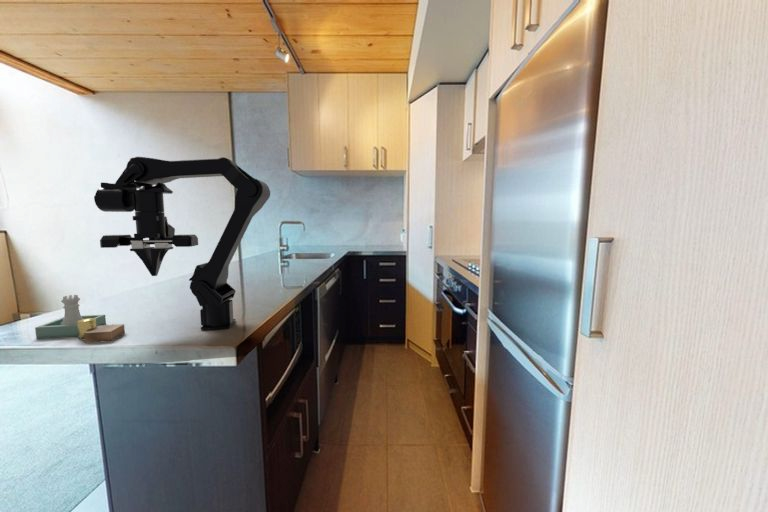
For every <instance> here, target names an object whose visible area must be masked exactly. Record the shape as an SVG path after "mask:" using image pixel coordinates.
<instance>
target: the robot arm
mask: <svg viewBox="0 0 768 512" xmlns="http://www.w3.org/2000/svg"><path fill="white" fill-rule="evenodd" d="M208 177H209V178H210V177H212V178H213V177H214V178H216V177H224V178H225V180H227V181H228V183H230V185H232V187H234V188H235V189H236V193H235V196H234V209H233V211H232V213H231V216H230V218H229V220H228V221H227V223H226V226H225V228H224V230H223V232H222V234H221V236H220V239H219V240H218V243H217V244H216V247H215V249H214V251H213V252H212V255H211V257H210V259H209V260H208V262H205V263H200V264H198V265H196V266H195V269H194V271H193V274H192V276H191V277H190V278H189V279H188V281H189V282H190V283H189V284H190V285H189V289H190V291H191V293H192V295H193V296H194V297H195V298H196V300H197V302H198V305H199V306H200V307H202V308H201V309H200V310H199V311H200V312H199V314H200V316H199V317H200V325H201V327H200V330H201V331H203V330H204V331H206V330H207V331H208V330H220V329H222V330H223V329H230V328H231V326H232V325H233V324H235V322H236V318H234V307H233V306H234V305H233V304H234V303H233V299H234V297H235V295H236V289H235V288H233V287H232V286H231V285H230V284H229V283H228V282H227V280H228V278H229V267H230V264H231V262H232V259H233V258H234V256H235V254H236V252H237V250H238V247H239V246H240V244H241V242H242V239H243V238H244V235H245V234H246V232H247V230H248V227H249V225H250V223H251V221H252V219H253V217H254V216H255V215H256V214H258V212H259V211H261V210H262V208H263V207H264V206H265V204H266V203H267V202H268V200H269V198H270V197H271V190H270V188H269V186H268V184H267V183H265V182H264V181H262V180H259V179H257V178H254V177H253V176H251V175H250V174H249V173H248V172H247V171H246V170H244V169H243V168H242V167H240V166H238V165H237V163H236V162H235V161H234V160H231V159H230V158H227V157H222V156H221V157H219V158H205V159H204V158H203V159H183V160H167V159H166V160H165V159H164V160H163V159H159V158H153V157H146V156H145V157H144V156H132V157H131V158H130V159H129V161H128V162H127V163H126V167H125V168H124V170H123V171H122V173H121V174H120V176H119V177H118V179H117V180H116V181H115V183H113V182H112V183H111V182H100V188H98V189H97V190H96V192H95V194H94V197H93V199H94V200H93V201H94V204H95V206H96V208H98V209H99V210H100V211H102V212H105V213H107V212H108V213H109V212H110V213H111V212H114V213H115V212H116V213H118V212H119V213H120V212H121V213H123V212H124V213H131V212H133V211H134V215H132V221H135V229H136V230H135V231H136V233H134V234H133V237H132V235H131V234H105V235H102V236H101V238H100V240H99V244H100V248H101V249H102V248H107V249H109V248H110V249H111V248H112V249H114V248H118V247H126V246H127V247H129V246H131V248H130V249H129V251H130V252H134V253H135V254H136V255H137V257H138V258H139V259H140V260H141V261H142V263H143V264H144V266H145V268H146V269H147V270H148V272H149V274H150V275H151V277H157V276H158V274H159V272H160V268H161V265H162V262H163V260H164V258H165V256H166V254H167V253H168V251H169V250H173V249H174V246H175V247H176V248H177V247H178V248H181V247H182V248H183V247H186V248H189V247H190V248H191V247H196V246H199V238H198V236H197V234H175V233H176V229H175V227H173V226H172V225H171V224H170V223H169V222H168V217H167V216H165V204H164V201H165V200H164V195H165V194H166V195H167V194H168V195H169V194H170V195H172V194H173V192H174V191H173V190H171V188H169V187H167V185H166V183H170V182H171V183H172V181H175V180H179V179H189V178H191V179H192V178H193V179H195V178H208ZM151 245H154V246H151ZM173 245H174V246H173Z"/></svg>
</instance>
